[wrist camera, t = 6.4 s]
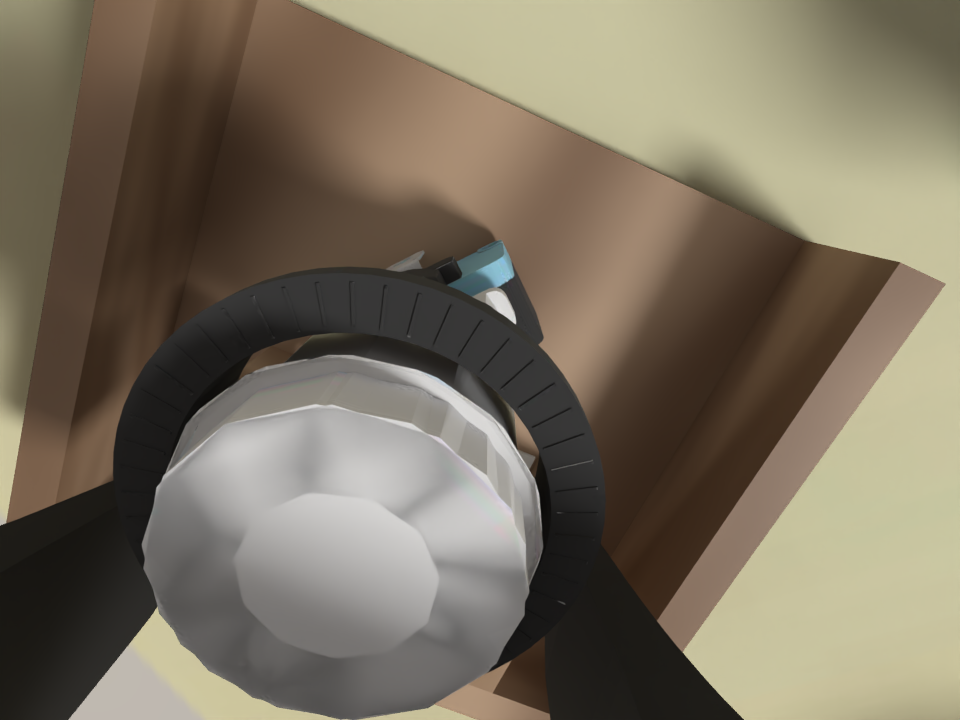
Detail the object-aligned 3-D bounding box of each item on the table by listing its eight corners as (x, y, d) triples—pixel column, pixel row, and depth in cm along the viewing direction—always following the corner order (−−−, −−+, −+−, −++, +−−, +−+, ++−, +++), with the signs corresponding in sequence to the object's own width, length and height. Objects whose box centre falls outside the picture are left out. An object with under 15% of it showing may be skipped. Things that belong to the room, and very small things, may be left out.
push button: (354, 449, 16) (164, 863, 7) (250, 284, 14) (-198, 519, 5) (569, 352, 15) (706, 682, 6) (481, 163, 13) (464, 172, 4)
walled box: (826, 253, 14) (945, 284, 10) (582, 641, 19) (602, 764, 15) (230, -24, 13) (112, -108, 9) (114, 464, 17) (2, 549, 13)
